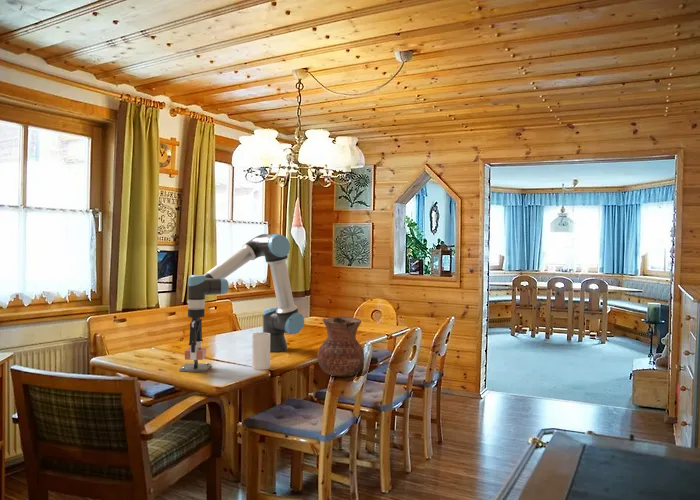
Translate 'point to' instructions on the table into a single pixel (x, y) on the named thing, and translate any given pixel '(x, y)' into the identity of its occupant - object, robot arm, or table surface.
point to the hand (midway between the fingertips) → (195, 357)
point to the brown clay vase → (341, 347)
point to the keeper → (195, 367)
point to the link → (200, 354)
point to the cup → (261, 351)
